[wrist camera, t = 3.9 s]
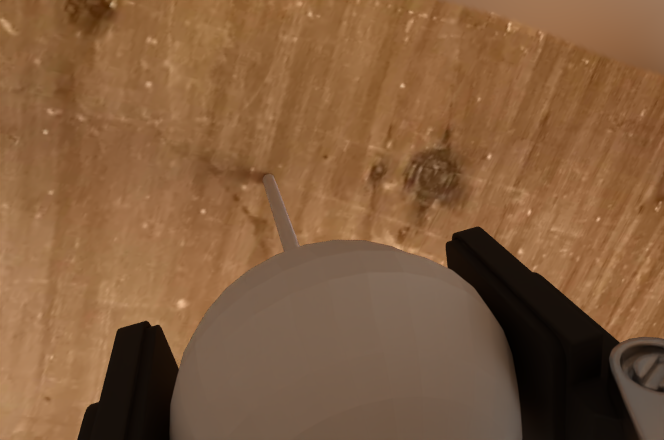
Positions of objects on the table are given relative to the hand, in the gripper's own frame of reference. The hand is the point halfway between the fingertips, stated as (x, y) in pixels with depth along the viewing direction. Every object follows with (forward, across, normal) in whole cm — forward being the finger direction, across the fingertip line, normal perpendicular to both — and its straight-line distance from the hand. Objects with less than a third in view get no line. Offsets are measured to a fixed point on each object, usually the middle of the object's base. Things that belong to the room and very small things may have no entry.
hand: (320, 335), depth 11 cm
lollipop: (+10, 0, 0) cm, 10 cm away
